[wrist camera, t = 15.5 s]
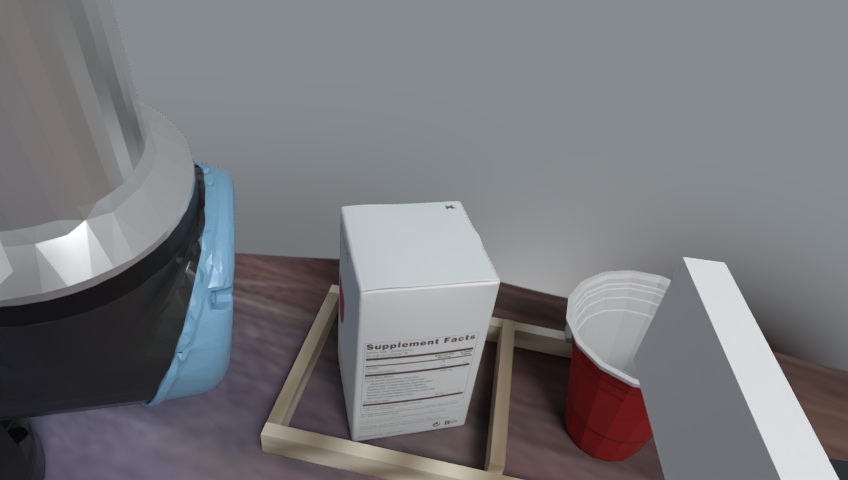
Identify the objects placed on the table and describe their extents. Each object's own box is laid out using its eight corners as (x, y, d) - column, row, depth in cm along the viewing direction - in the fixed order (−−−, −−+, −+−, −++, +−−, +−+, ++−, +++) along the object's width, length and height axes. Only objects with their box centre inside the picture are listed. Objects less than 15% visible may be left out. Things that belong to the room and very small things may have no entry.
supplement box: (334, 350, 49) (338, 201, 40) (437, 340, 51) (462, 197, 42) (348, 445, 42) (356, 290, 33) (467, 428, 44) (504, 278, 35)
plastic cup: (506, 388, 47) (539, 277, 40) (617, 364, 51) (666, 258, 44) (574, 513, 39) (630, 402, 32) (700, 475, 43) (776, 367, 36)
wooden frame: (262, 451, 40) (259, 425, 39) (332, 298, 53) (333, 273, 52) (728, 557, 38) (749, 535, 36) (683, 370, 51) (696, 347, 49)
